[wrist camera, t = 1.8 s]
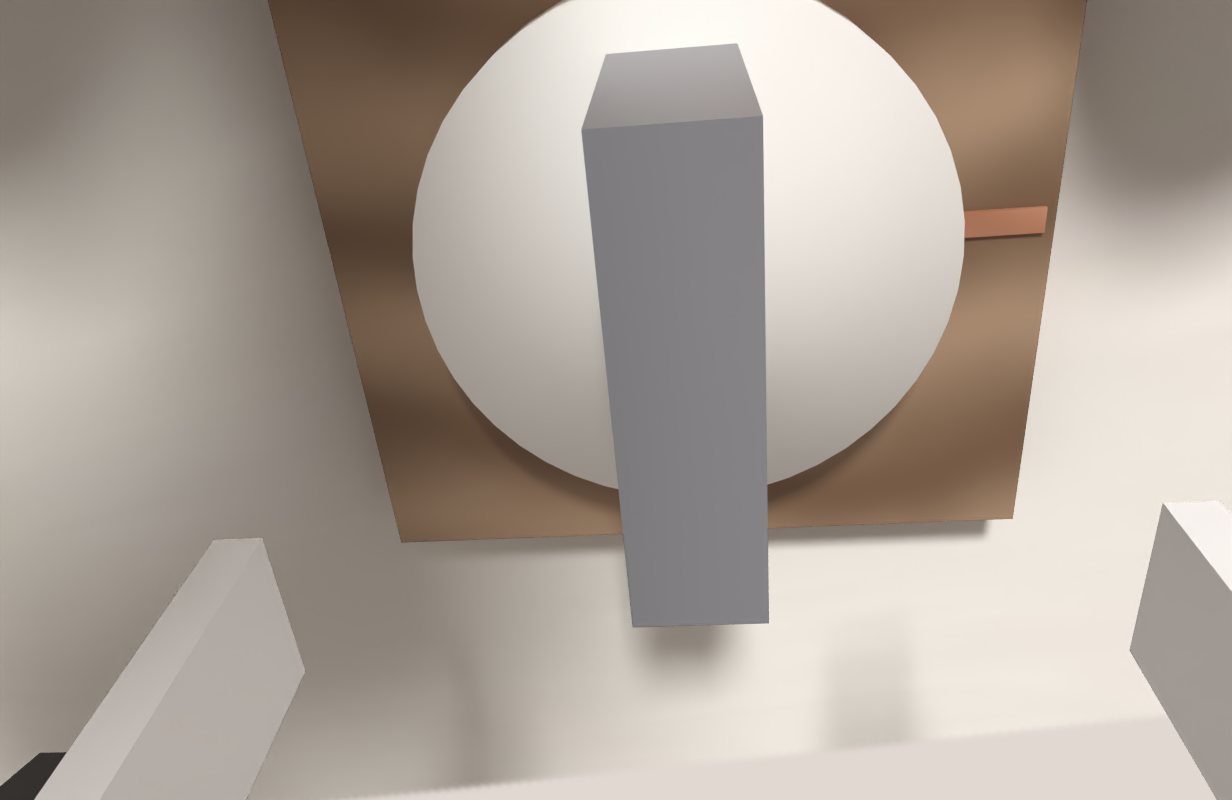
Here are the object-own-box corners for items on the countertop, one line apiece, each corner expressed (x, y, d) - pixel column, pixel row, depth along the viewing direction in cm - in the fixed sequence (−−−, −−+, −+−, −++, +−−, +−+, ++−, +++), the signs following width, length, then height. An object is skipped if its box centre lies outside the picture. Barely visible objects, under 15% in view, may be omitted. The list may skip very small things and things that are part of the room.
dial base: (266, -135, 24) (232, -134, 22) (1084, -219, 23) (1121, -226, 21) (415, 507, 34) (400, 545, 32) (994, 482, 32) (1013, 521, 30)
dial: (381, -7, 23) (237, 62, 16) (968, -59, 22) (1129, -13, 14) (472, 469, 30) (404, 682, 22) (925, 448, 29) (1018, 666, 21)
